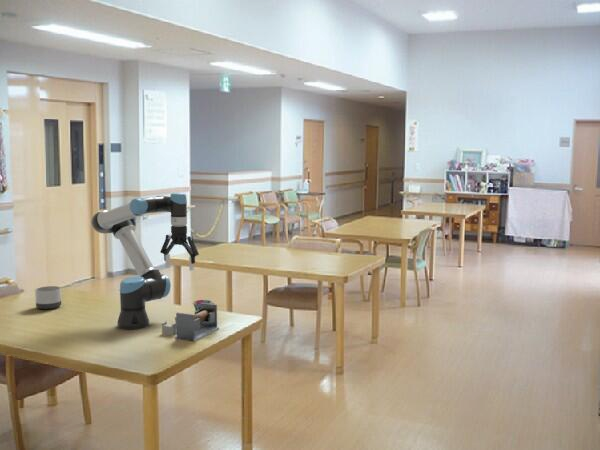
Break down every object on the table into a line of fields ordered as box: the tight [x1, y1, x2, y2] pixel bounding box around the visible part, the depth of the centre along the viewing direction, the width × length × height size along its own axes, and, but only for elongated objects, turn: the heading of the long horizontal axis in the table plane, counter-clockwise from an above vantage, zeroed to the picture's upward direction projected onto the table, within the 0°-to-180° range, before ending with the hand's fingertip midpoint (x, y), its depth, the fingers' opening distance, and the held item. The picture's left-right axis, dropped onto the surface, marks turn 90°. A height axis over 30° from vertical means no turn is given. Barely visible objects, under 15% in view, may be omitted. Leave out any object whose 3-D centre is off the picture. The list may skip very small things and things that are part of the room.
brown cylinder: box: [193, 310, 209, 322], centre depth 294 cm, size 15×4×4 cm, turn 157°
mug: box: [192, 299, 215, 312], centre depth 314 cm, size 12×9×11 cm
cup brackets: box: [175, 303, 218, 342], centre depth 295 cm, size 9×21×12 cm, turn 157°
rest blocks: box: [160, 316, 177, 336], centre depth 300 cm, size 6×14×5 cm, turn 157°
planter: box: [34, 285, 62, 310], centre depth 342 cm, size 13×13×10 cm
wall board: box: [174, 325, 220, 342], centre depth 295 cm, size 11×21×1 cm, turn 157°
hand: (179, 269), depth 304 cm, fingers open, 13 cm apart
